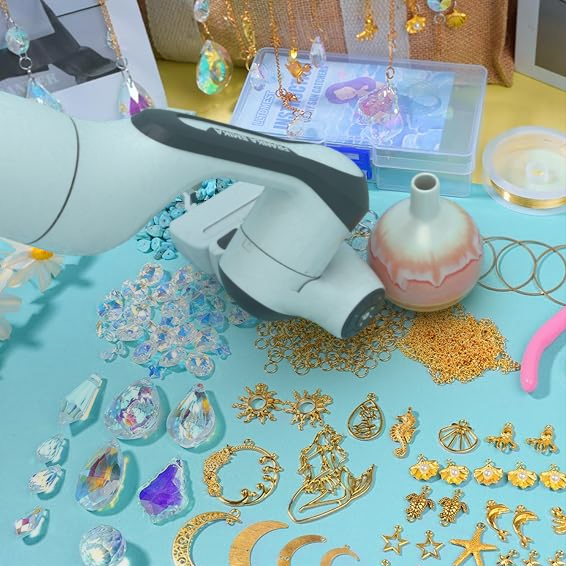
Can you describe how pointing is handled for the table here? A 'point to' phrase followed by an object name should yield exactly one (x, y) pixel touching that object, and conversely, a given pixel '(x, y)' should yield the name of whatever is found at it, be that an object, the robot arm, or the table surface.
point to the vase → (426, 249)
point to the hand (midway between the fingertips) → (215, 172)
